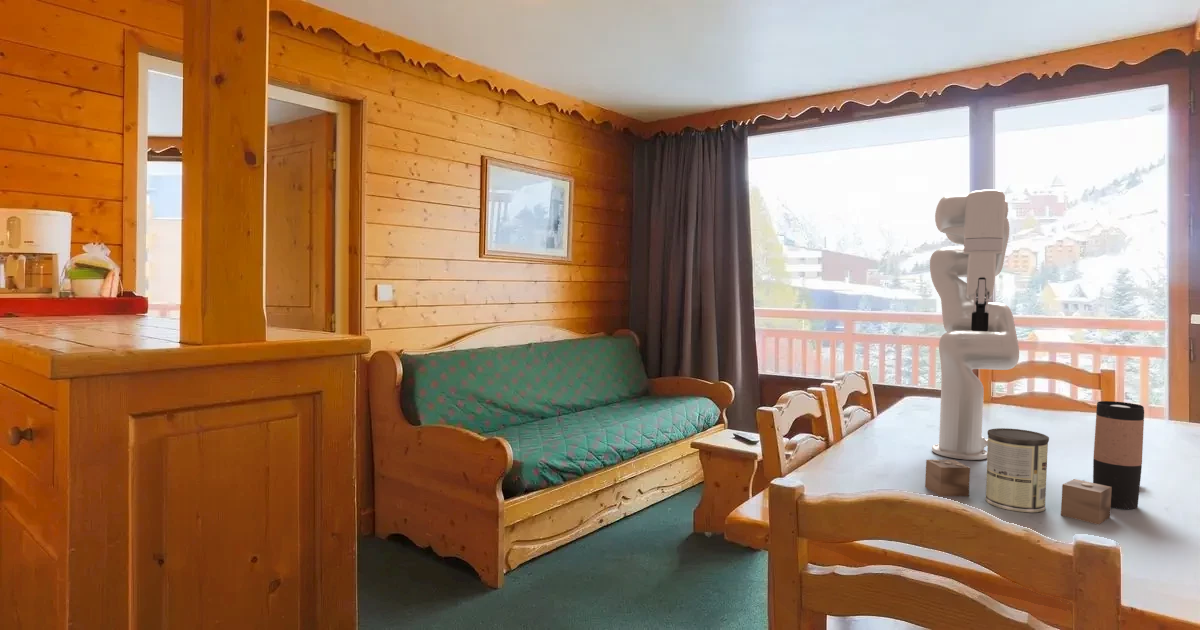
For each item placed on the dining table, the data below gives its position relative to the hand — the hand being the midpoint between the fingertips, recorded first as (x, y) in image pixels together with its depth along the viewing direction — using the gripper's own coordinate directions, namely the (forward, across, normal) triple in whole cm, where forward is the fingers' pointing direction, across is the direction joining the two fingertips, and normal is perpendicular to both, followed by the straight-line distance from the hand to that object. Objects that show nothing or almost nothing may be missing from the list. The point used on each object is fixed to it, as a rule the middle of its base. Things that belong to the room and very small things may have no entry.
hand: (979, 330), depth 149 cm
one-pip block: (+33, +17, +18) cm, 42 cm away
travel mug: (+33, +5, +25) cm, 42 cm away
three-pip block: (+33, +13, -5) cm, 36 cm away
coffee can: (+33, +16, +7) cm, 37 cm away
